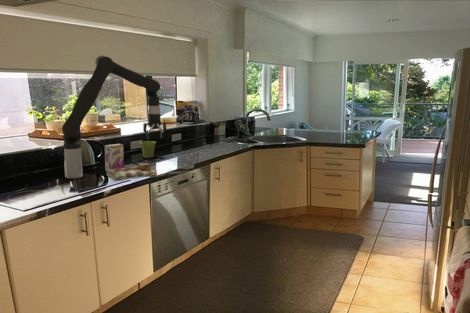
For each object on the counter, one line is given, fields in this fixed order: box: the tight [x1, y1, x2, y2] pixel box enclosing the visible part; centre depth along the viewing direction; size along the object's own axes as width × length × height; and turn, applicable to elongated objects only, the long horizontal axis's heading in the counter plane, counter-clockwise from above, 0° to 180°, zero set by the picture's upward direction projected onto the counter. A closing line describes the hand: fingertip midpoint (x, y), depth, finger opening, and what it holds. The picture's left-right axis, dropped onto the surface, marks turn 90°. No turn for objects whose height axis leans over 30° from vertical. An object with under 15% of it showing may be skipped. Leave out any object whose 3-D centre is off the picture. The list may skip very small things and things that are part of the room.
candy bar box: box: [104, 143, 125, 172], centre depth 255 cm, size 11×5×16 cm, turn 141°
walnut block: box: [137, 162, 152, 171], centre depth 249 cm, size 6×6×4 cm
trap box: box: [106, 165, 158, 181], centre depth 243 cm, size 26×14×4 cm, turn 125°
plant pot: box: [139, 140, 157, 159], centre depth 299 cm, size 12×12×11 cm
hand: (155, 138), depth 254 cm, fingers open, 8 cm apart
